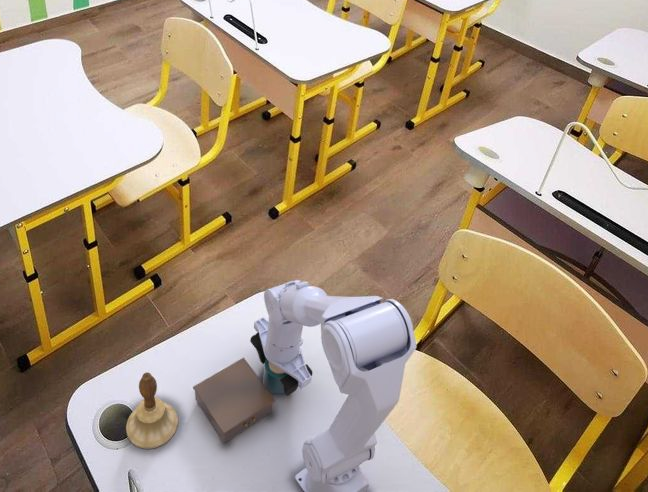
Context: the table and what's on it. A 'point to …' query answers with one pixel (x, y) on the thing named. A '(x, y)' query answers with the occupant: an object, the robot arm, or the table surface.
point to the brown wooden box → (233, 399)
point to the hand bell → (151, 418)
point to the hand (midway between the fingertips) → (278, 375)
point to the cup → (273, 378)
